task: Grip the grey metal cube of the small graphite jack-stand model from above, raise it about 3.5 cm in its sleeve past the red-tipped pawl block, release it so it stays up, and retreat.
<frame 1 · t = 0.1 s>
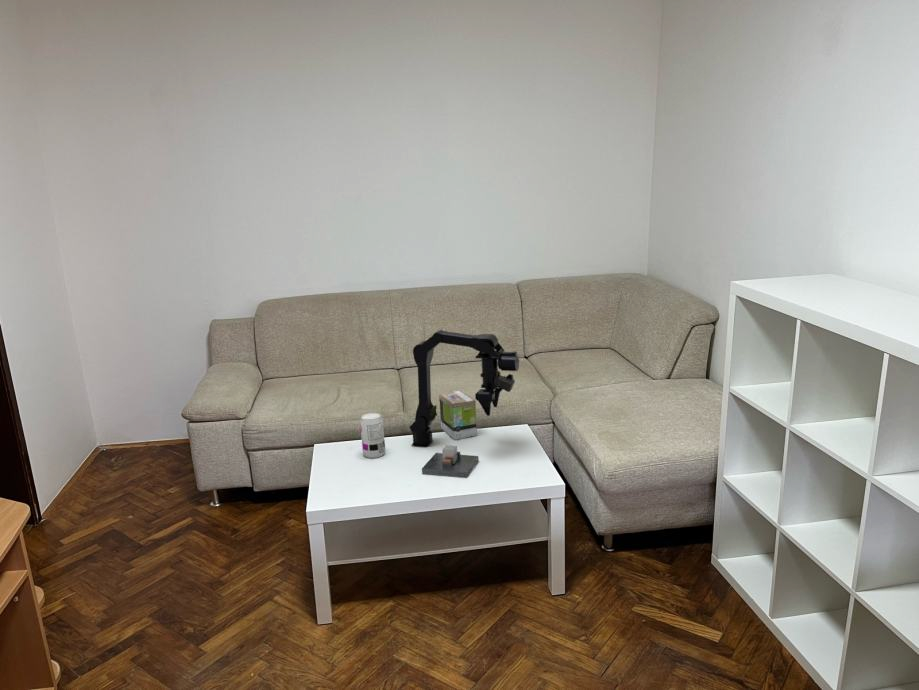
hand: (492, 411, 261), 15 cm above the table, tool pointing down, fingers open, 9 cm apart
supplement can: (374, 454, 266), on the table
grey metal cube: (449, 454, 249), point 5 cm above the table, slide at 0.0 cm
stand: (450, 467, 250), on the table
tea box: (459, 432, 283), on the table
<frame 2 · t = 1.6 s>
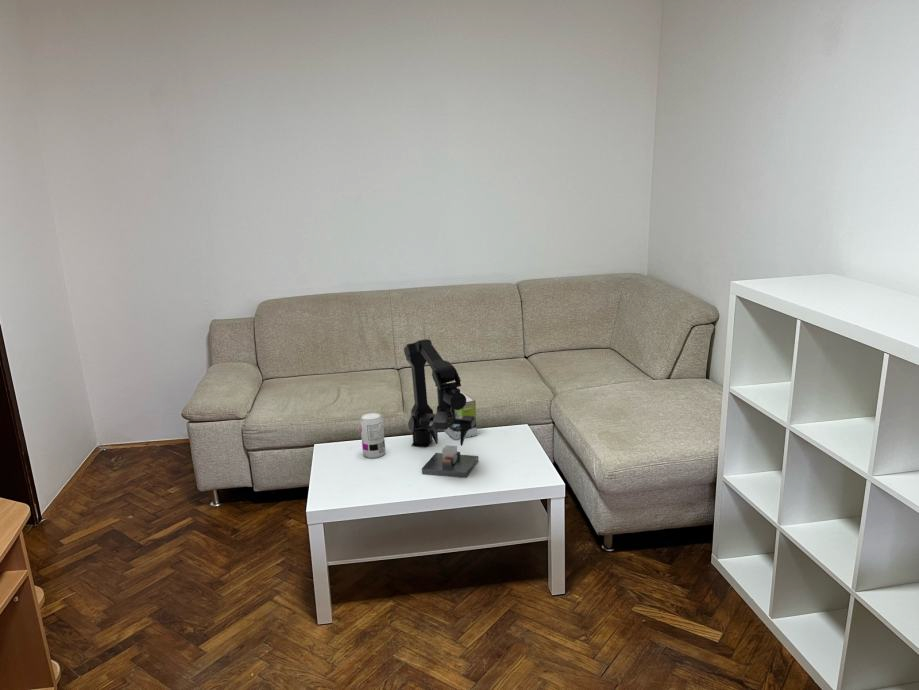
hand: (449, 444, 248), 9 cm above the table, tool pointing down, fingers open, 9 cm apart
nothing on the table moved.
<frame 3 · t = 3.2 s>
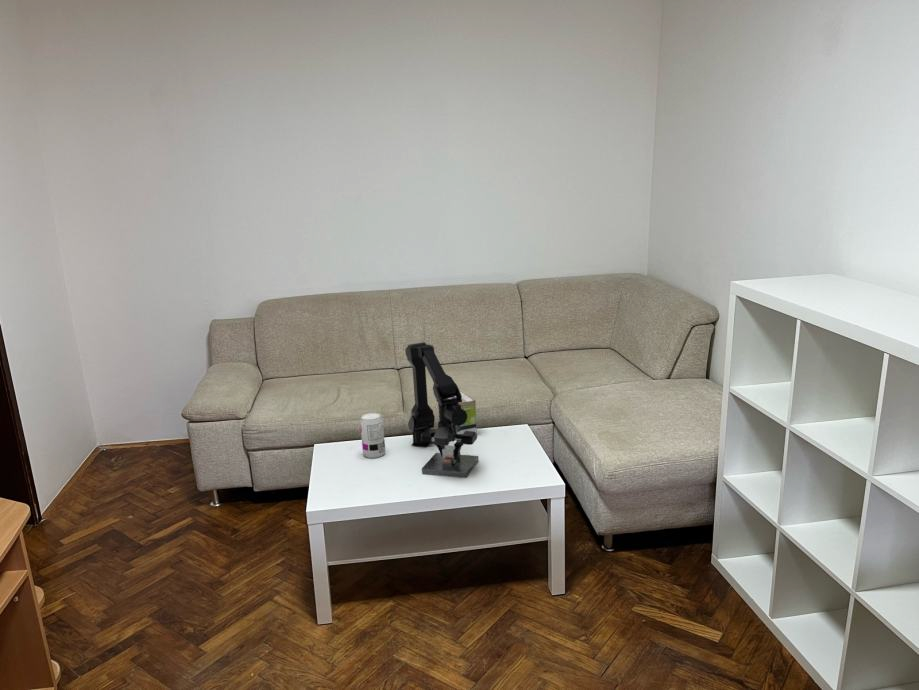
hand: (450, 459, 249), 3 cm above the table, tool pointing down, fingers closed on grey metal cube, 4 cm apart
grey metal cube: (449, 454, 249), point 5 cm above the table, slide at 0.0 cm, touching gripper
everything else where it was.
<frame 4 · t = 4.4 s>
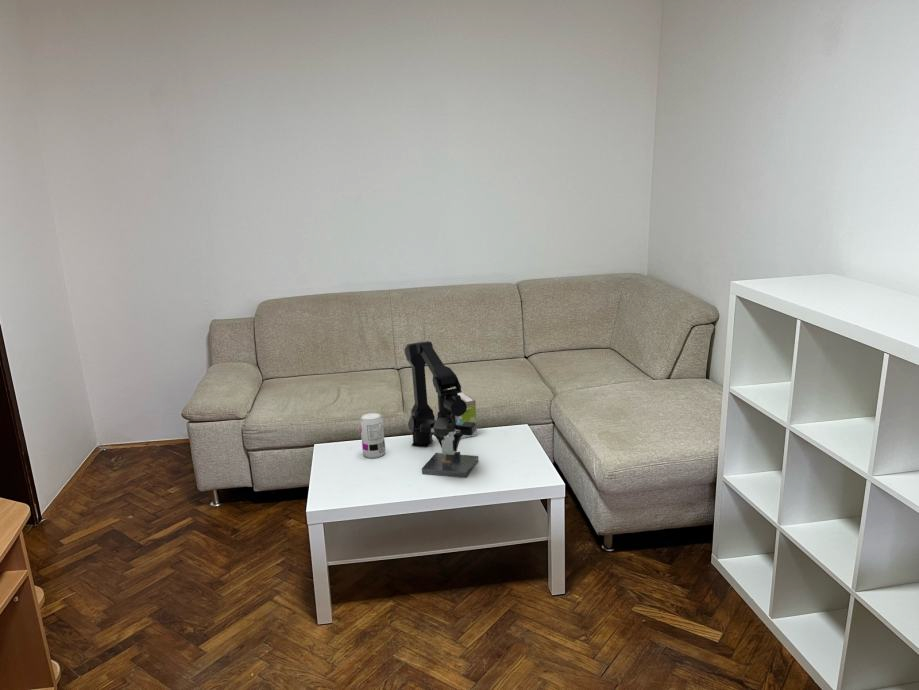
hand: (449, 450, 249), 6 cm above the table, tool pointing down, fingers closed on grey metal cube, 4 cm apart
grey metal cube: (449, 445, 248), point 8 cm above the table, slide at 3.3 cm, touching gripper
everything else where it was.
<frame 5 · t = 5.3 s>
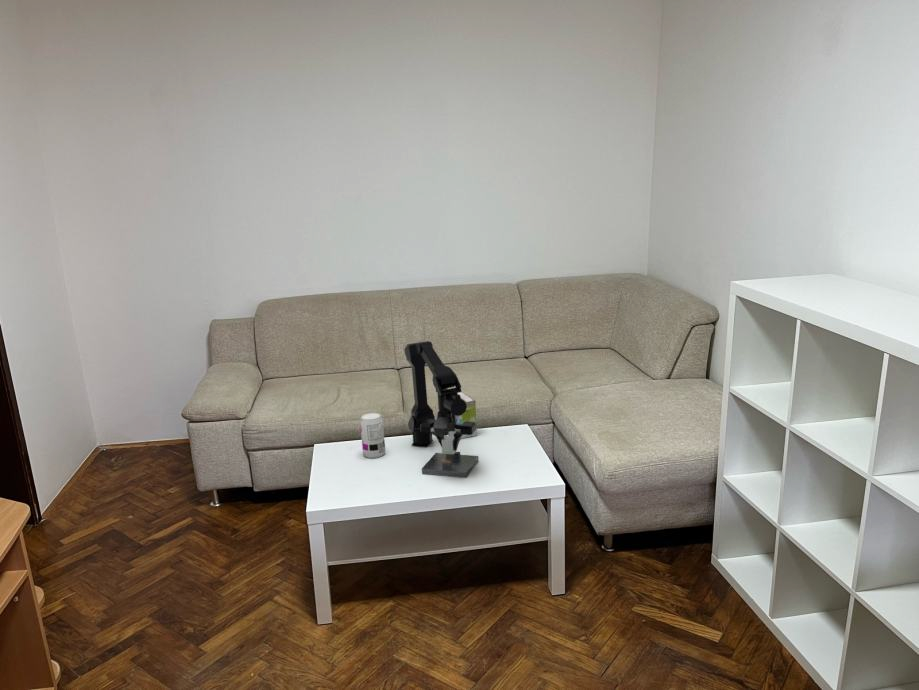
hand: (449, 450, 249), 7 cm above the table, tool pointing down, fingers closed on grey metal cube, 4 cm apart
grey metal cube: (449, 444, 248), point 8 cm above the table, slide at 3.5 cm, touching gripper
everything else where it was.
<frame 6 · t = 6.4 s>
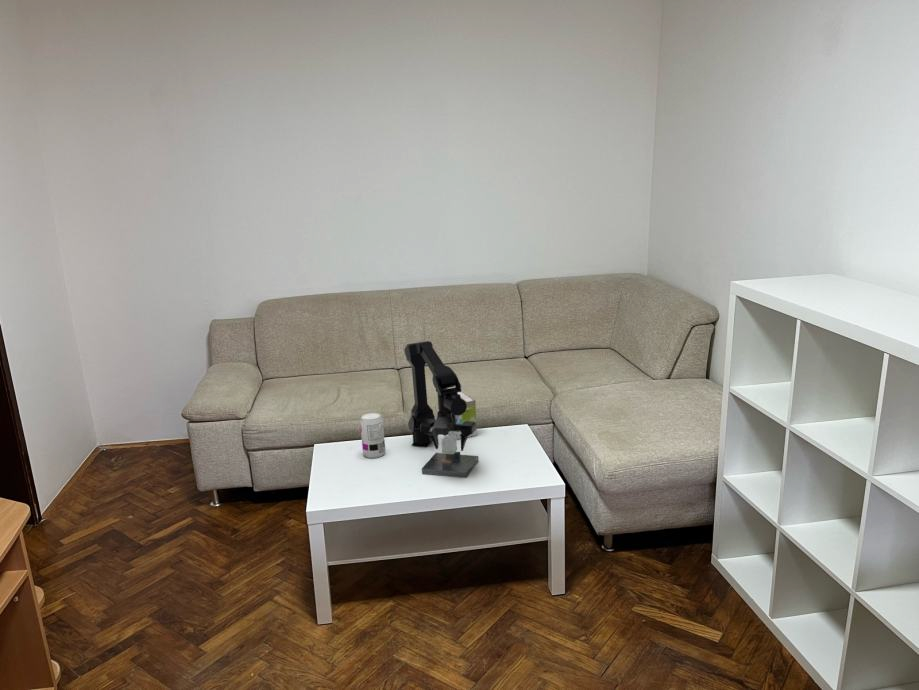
hand: (449, 449, 249), 7 cm above the table, tool pointing down, fingers open, 9 cm apart
grey metal cube: (449, 444, 248), point 8 cm above the table, slide at 3.5 cm
everything else where it was.
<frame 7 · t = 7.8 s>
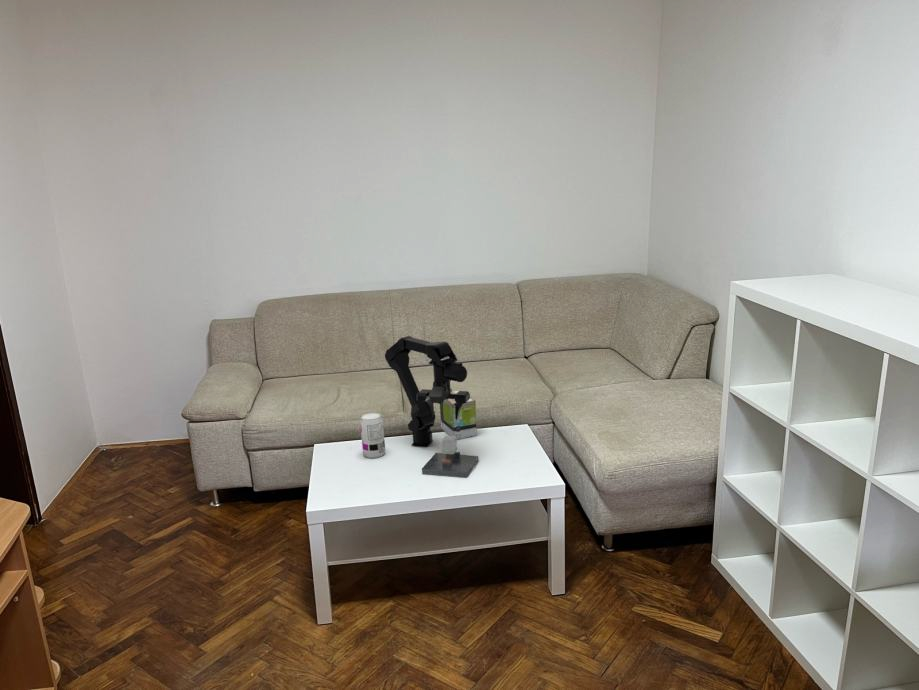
hand: (444, 418, 261), 13 cm above the table, tool pointing down, fingers open, 9 cm apart
nothing on the table moved.
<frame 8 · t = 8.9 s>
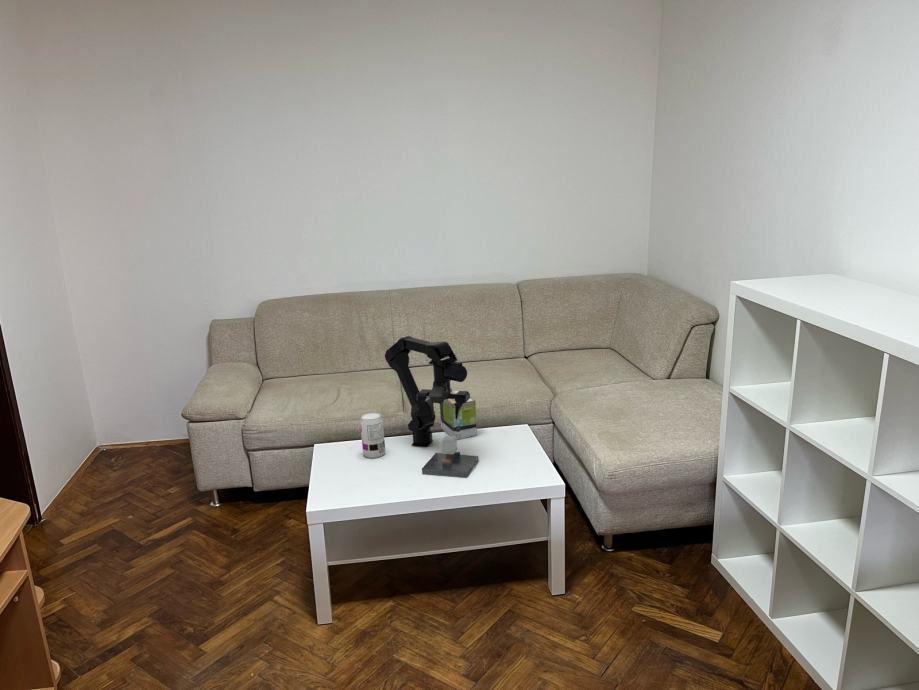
hand: (444, 418, 261), 13 cm above the table, tool pointing down, fingers open, 9 cm apart
nothing on the table moved.
at the end: grey metal cube slide at 3.5 cm; the gripper is holding nothing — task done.
